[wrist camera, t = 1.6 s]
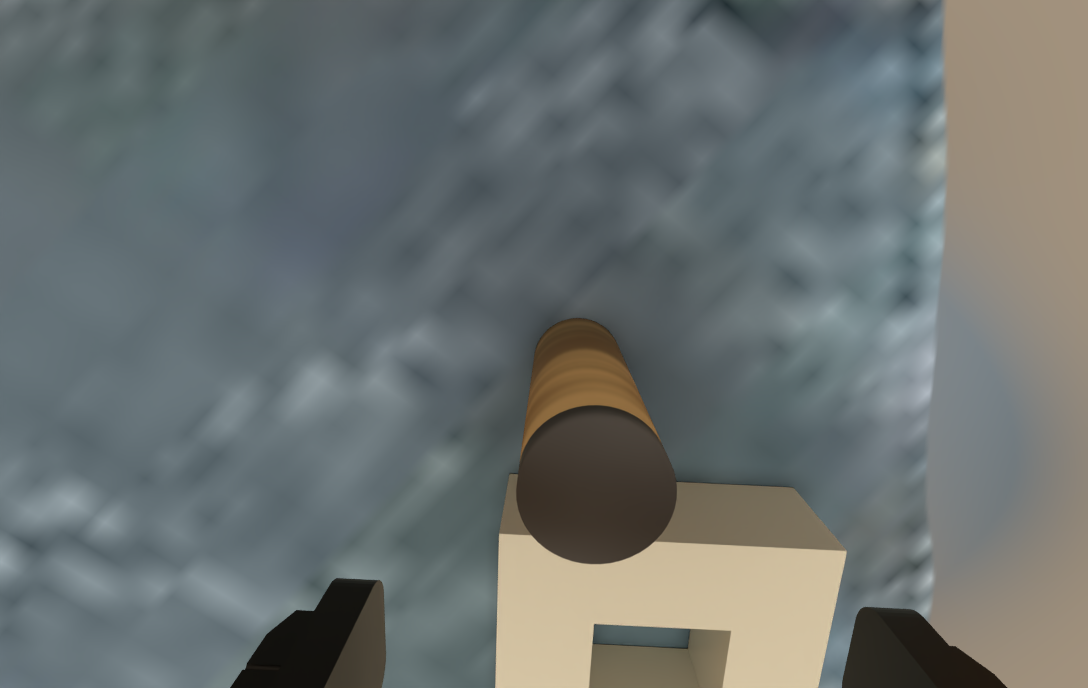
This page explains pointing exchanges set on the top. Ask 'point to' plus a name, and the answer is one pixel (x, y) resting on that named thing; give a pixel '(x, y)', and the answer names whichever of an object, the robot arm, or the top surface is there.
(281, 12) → the top surface
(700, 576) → the socket block
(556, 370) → the peg
